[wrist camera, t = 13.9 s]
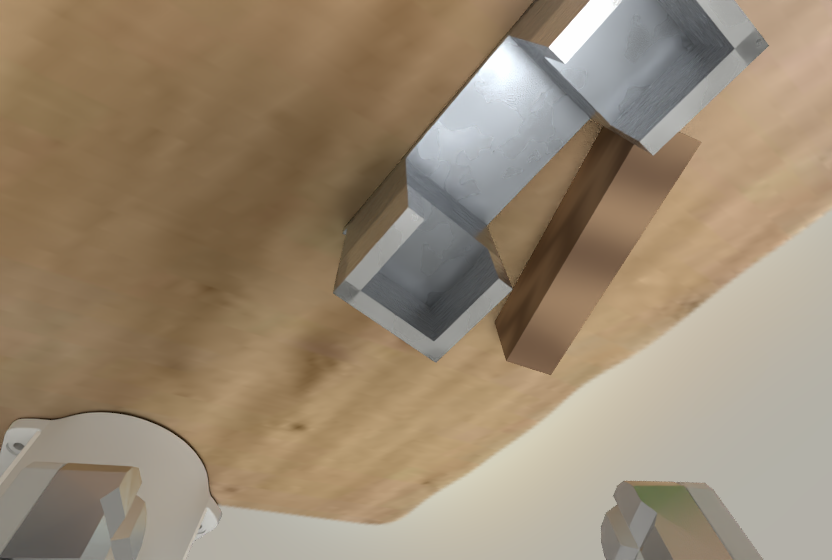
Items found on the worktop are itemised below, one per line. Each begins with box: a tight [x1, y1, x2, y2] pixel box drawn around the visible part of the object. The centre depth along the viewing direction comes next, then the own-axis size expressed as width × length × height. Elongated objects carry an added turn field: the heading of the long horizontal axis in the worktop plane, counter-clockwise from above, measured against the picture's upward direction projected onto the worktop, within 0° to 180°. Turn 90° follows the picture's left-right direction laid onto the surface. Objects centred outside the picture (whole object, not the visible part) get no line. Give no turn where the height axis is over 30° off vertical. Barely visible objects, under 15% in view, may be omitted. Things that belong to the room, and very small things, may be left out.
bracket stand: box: [333, 0, 769, 362], centre depth 28 cm, size 22×7×10 cm, turn 140°
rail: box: [495, 126, 701, 375], centre depth 34 cm, size 17×3×5 cm, turn 158°
